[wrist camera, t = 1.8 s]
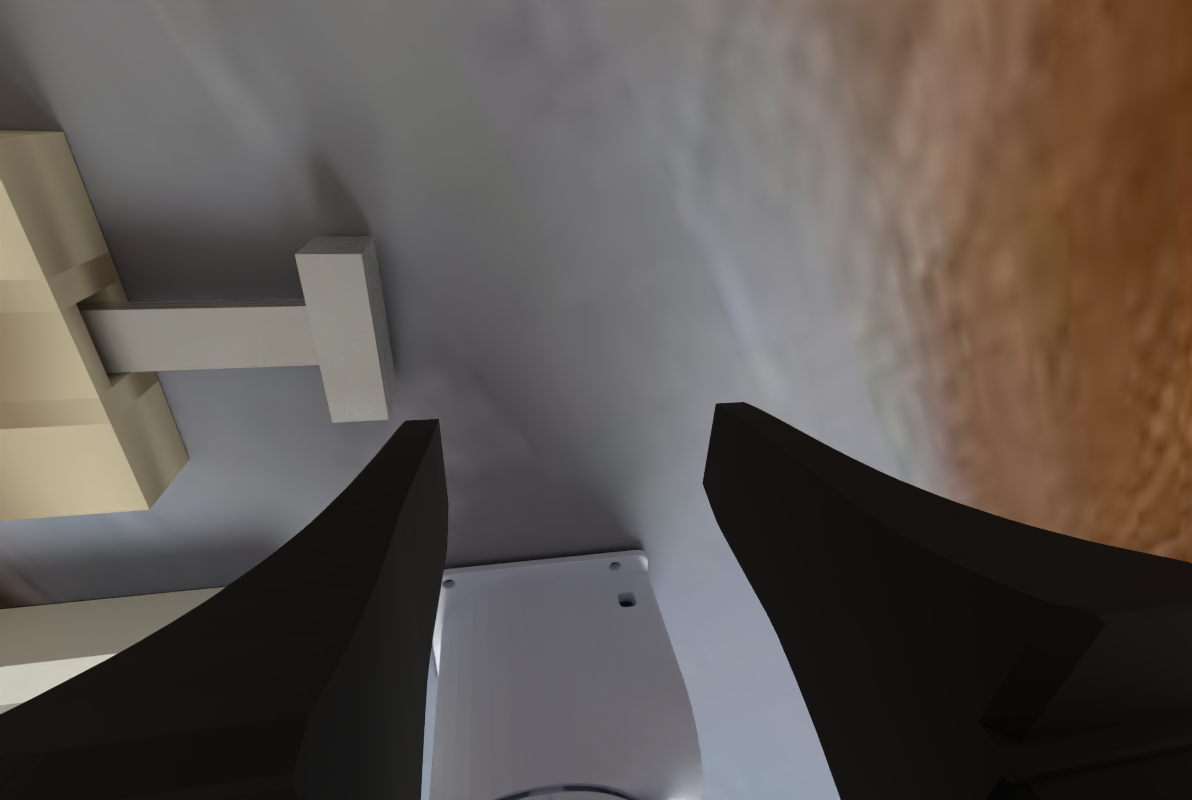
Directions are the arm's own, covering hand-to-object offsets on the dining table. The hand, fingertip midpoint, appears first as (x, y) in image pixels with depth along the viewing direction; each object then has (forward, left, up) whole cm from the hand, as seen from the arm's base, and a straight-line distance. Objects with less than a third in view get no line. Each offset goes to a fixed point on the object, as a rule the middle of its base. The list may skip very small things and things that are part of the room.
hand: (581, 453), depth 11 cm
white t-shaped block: (+9, 0, -8) cm, 12 cm away
